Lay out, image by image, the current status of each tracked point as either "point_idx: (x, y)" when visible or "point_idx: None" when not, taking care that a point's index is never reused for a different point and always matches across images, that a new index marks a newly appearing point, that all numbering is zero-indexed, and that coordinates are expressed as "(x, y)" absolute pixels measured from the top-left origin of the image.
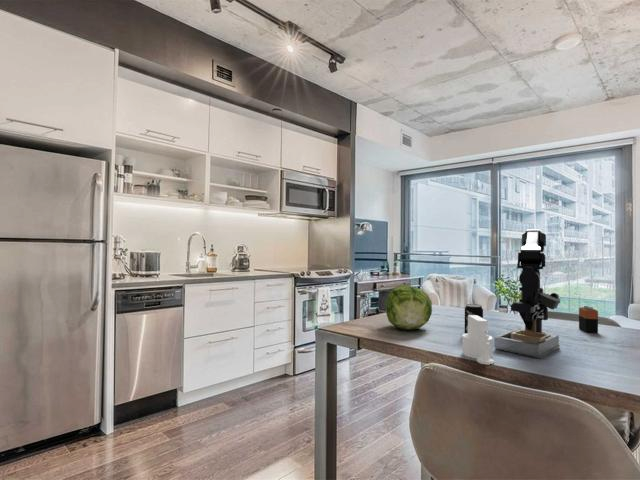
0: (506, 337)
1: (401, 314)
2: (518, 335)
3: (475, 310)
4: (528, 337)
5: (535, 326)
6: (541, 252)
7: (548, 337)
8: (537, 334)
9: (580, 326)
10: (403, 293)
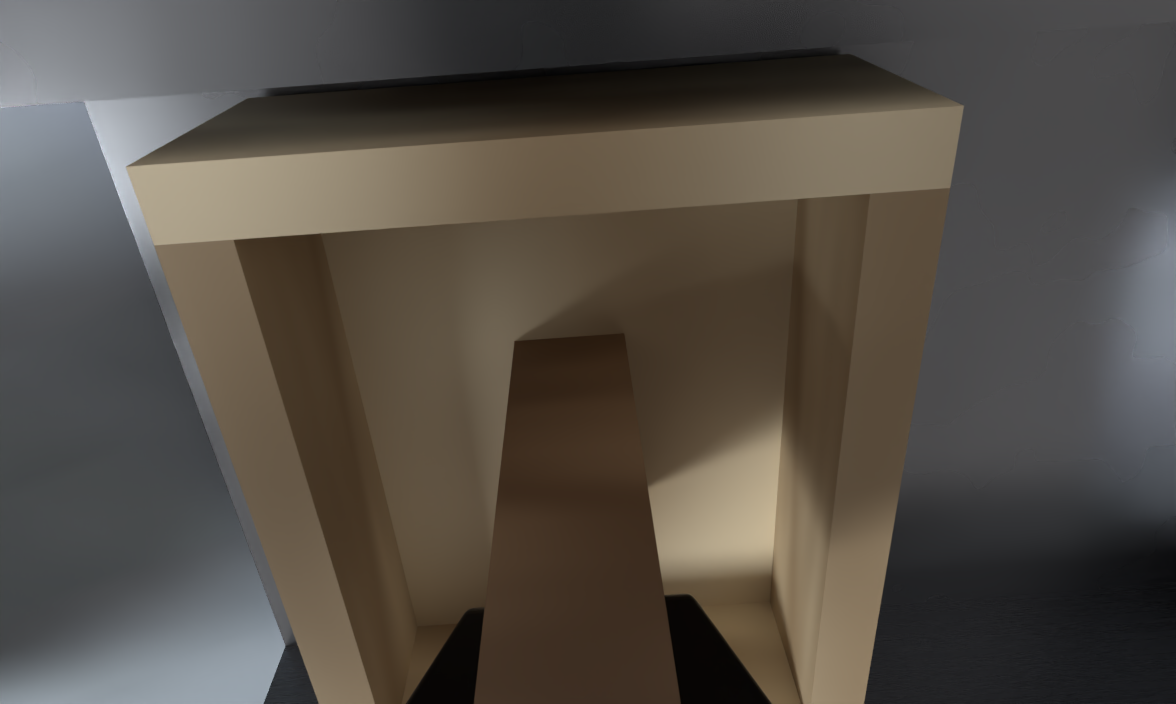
0: (946, 701)
1: None
2: (867, 627)
3: None
4: (894, 445)
5: (557, 632)
6: None
7: (557, 65)
8: (319, 456)
9: None
10: None
